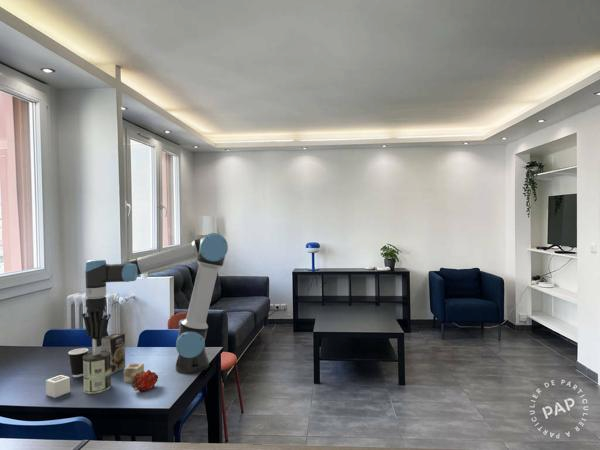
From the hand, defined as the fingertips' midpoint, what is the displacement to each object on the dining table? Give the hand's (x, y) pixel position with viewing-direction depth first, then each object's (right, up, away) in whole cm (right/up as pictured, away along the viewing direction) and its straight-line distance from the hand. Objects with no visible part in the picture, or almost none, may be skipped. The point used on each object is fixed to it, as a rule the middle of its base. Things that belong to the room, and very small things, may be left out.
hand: (96, 353), depth 158 cm
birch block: (+12, -14, +9) cm, 21 cm away
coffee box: (-3, -15, +20) cm, 25 cm away
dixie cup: (-16, -15, +15) cm, 26 cm away
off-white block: (-14, -15, -4) cm, 20 cm away
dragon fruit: (+21, -14, -1) cm, 25 cm away
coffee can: (0, -15, 0) cm, 15 cm away
